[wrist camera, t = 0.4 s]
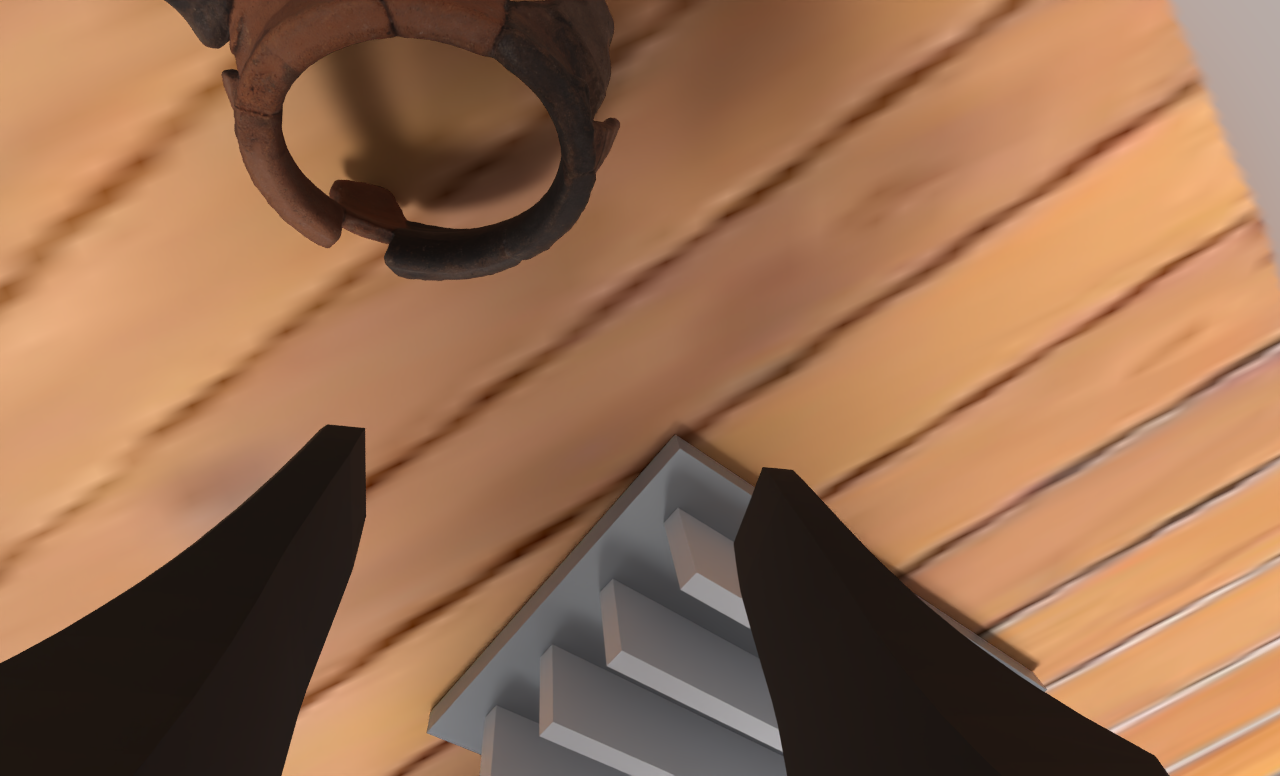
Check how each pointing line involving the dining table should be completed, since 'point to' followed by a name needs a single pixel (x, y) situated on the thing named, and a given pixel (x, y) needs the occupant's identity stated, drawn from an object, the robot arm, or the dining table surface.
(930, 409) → the dining table surface
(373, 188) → the dark brown curved piece
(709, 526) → the dish rack
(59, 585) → the dining table surface
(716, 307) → the dining table surface
